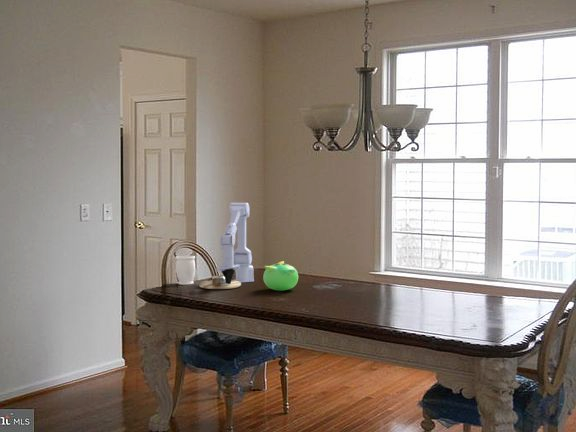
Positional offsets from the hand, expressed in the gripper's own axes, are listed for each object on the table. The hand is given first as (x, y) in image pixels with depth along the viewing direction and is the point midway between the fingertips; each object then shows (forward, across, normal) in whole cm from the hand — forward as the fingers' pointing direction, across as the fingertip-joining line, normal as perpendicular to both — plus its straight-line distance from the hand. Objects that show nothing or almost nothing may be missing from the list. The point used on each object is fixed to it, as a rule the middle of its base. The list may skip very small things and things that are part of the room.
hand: (228, 283), depth 374 cm
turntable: (+3, -1, -8) cm, 9 cm away
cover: (+1, -1, -8) cm, 8 cm away
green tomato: (+3, -14, +24) cm, 28 cm away
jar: (+3, +5, -29) cm, 30 cm away
